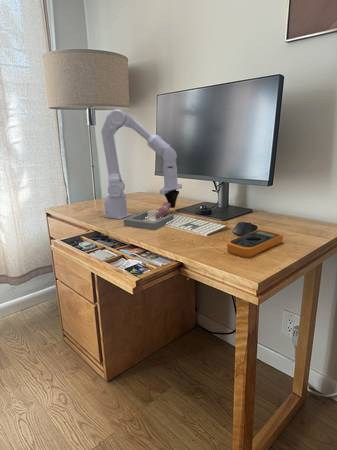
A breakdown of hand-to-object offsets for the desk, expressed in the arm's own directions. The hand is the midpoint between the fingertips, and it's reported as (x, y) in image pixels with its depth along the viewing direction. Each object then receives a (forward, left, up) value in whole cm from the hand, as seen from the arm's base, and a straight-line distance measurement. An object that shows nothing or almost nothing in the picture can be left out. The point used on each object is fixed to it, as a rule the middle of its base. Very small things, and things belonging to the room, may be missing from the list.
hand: (172, 207), depth 137 cm
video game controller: (0, -6, -3) cm, 7 cm away
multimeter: (+45, -25, -3) cm, 52 cm away
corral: (0, -17, -2) cm, 17 cm away
